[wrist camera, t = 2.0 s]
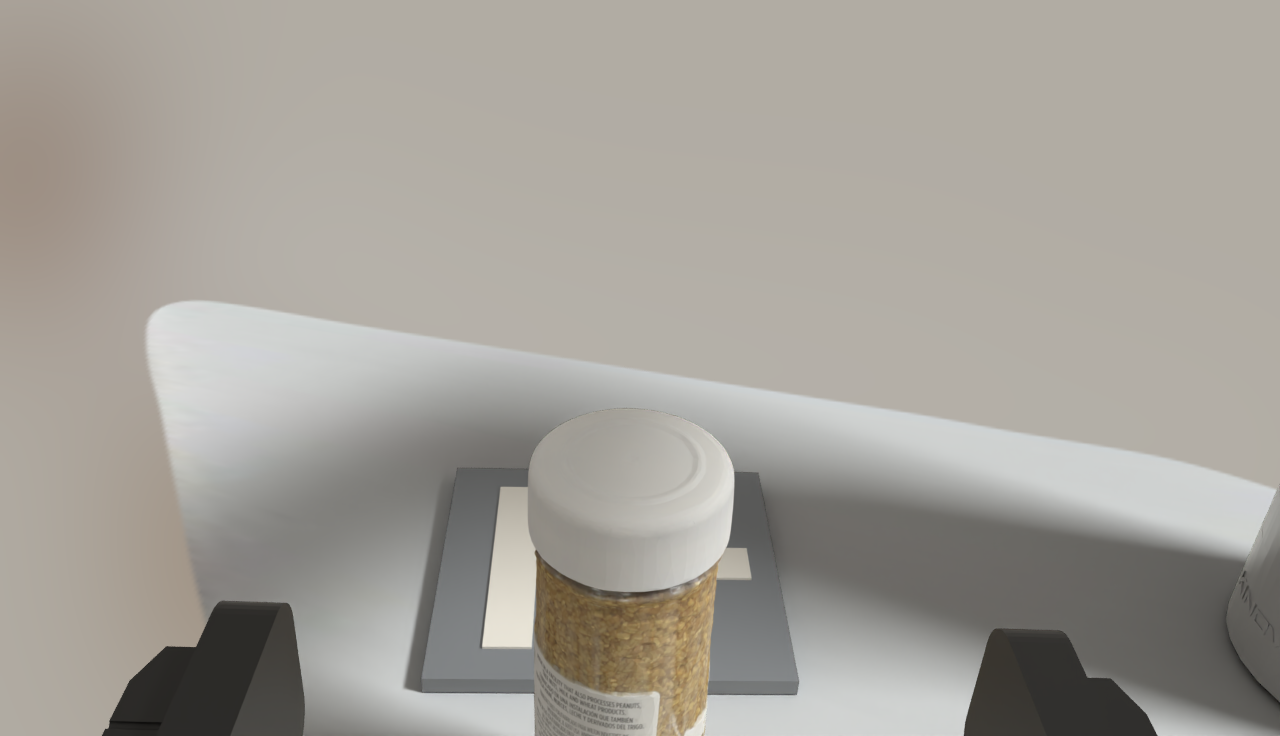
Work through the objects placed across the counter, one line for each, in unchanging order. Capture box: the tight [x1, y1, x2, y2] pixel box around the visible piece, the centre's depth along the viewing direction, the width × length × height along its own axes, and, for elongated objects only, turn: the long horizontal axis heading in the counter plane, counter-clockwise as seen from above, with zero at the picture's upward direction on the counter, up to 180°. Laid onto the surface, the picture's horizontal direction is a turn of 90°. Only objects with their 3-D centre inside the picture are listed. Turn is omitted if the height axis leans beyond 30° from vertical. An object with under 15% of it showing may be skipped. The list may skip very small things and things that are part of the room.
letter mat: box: [421, 468, 799, 694], centre depth 41 cm, size 12×11×1 cm
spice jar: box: [528, 408, 734, 736], centre depth 28 cm, size 5×5×13 cm
